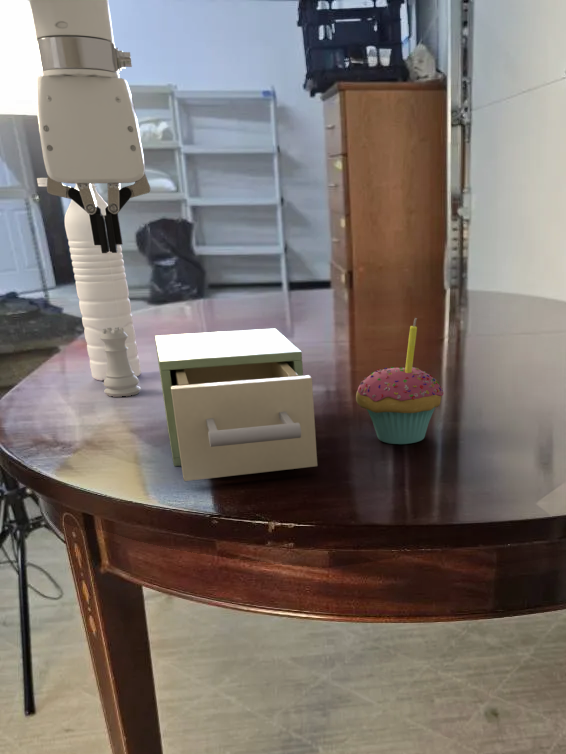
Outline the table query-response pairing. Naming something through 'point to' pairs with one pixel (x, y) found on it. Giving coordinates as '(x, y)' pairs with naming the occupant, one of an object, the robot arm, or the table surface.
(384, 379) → the cupcake
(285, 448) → the drawer
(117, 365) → the rook chess piece
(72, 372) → the table surface
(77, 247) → the water bottle
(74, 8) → the robot arm
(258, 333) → the cabinet
